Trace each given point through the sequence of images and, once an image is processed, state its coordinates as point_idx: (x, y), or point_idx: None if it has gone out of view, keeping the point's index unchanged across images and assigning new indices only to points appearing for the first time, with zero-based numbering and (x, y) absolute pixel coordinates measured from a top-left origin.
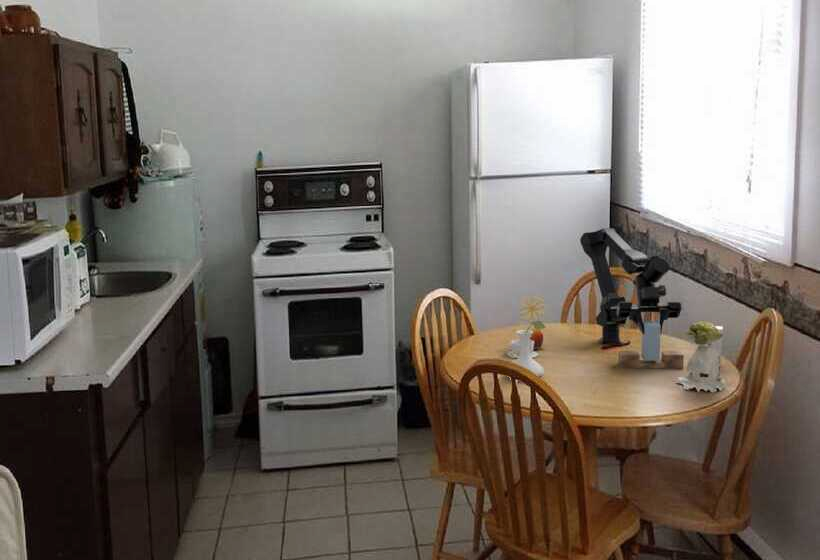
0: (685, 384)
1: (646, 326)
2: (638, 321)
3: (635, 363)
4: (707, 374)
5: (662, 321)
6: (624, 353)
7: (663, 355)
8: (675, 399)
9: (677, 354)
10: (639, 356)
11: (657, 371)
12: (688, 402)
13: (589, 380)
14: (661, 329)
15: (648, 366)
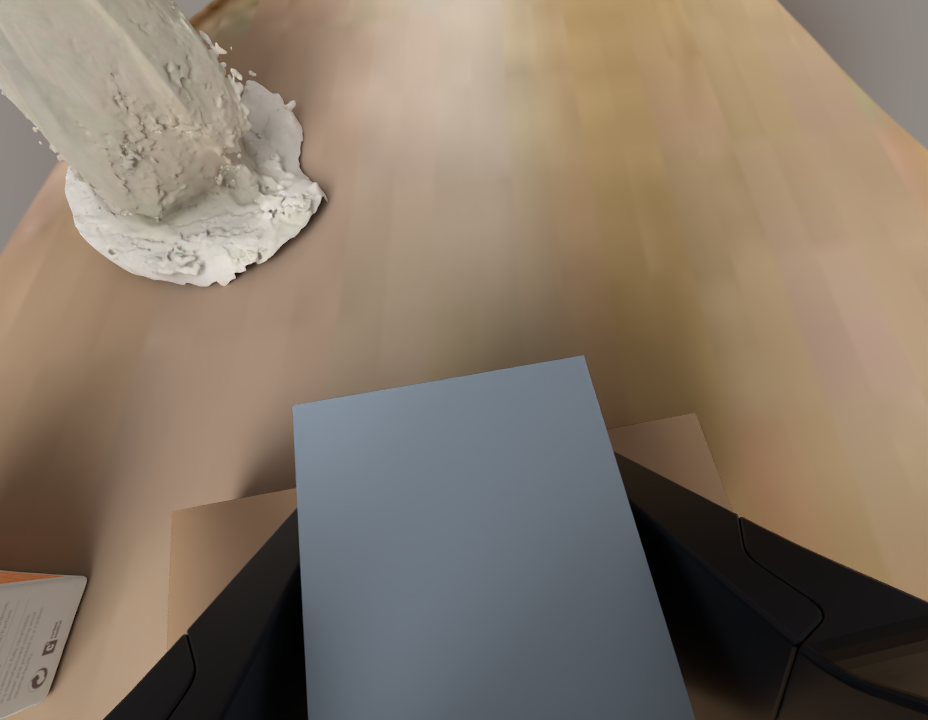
0: (287, 158)
1: (556, 364)
2: (775, 551)
3: None
4: (129, 212)
5: (190, 651)
6: (680, 471)
7: None
8: (361, 23)
9: (225, 517)
10: None
11: None
12: (315, 4)
13: (758, 184)
14: (294, 512)
15: None
